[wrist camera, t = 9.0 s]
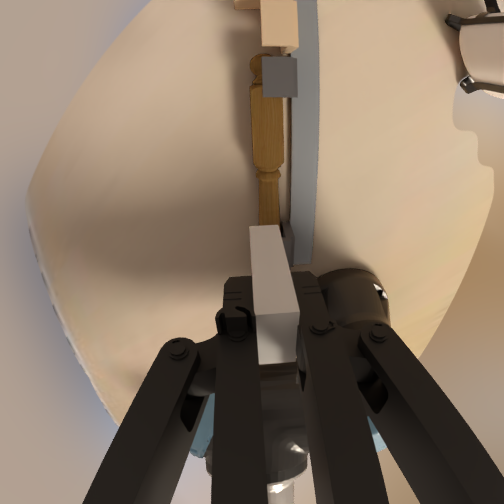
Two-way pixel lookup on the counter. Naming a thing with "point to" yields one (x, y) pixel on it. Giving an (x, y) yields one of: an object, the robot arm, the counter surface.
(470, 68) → the coffee press
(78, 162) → the counter surface
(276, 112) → the tap handle
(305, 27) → the board
